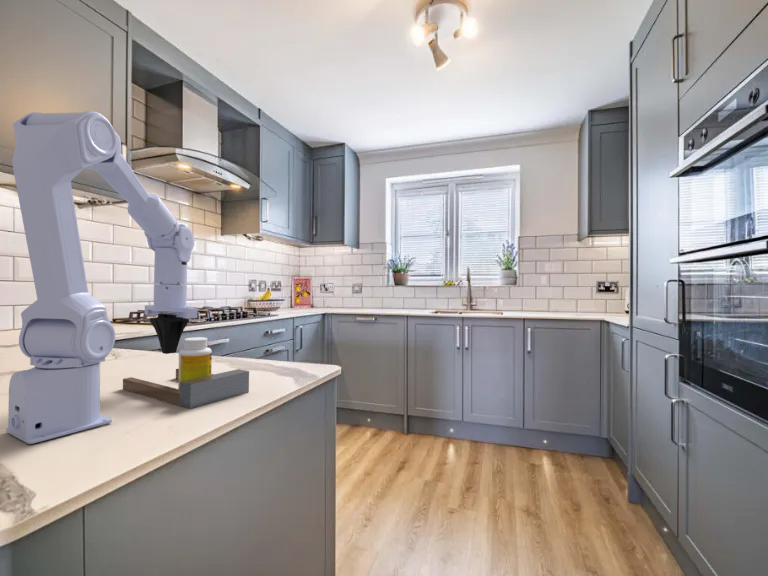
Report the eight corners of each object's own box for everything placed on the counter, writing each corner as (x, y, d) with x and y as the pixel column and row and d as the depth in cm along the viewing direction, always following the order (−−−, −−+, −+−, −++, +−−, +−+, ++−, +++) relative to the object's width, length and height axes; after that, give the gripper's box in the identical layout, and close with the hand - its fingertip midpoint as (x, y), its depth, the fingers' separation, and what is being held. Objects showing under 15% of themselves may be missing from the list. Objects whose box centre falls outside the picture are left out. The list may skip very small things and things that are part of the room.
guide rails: (179, 405, 65) (179, 393, 65) (122, 389, 74) (122, 378, 74) (238, 389, 75) (238, 379, 75) (182, 376, 84) (182, 367, 84)
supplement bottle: (214, 393, 72) (215, 339, 72) (182, 398, 69) (183, 341, 68) (206, 387, 76) (207, 335, 76) (175, 391, 73) (176, 337, 73)
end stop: (190, 408, 63) (190, 384, 63) (179, 405, 65) (179, 381, 65) (248, 391, 74) (249, 371, 74) (238, 389, 75) (238, 369, 75)
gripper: (212, 285, 76) (210, 353, 76) (168, 284, 83) (167, 346, 83) (177, 284, 70) (176, 359, 70) (134, 283, 77) (133, 351, 77)
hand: (169, 352), depth 76 cm, fingers closed
